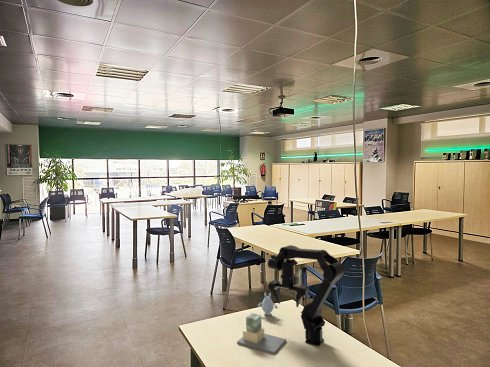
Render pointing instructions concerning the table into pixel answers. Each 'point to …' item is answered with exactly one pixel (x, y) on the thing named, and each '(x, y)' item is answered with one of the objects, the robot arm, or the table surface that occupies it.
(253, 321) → the sage block
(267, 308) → the toy figure
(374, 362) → the table surface
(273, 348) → the build plate
